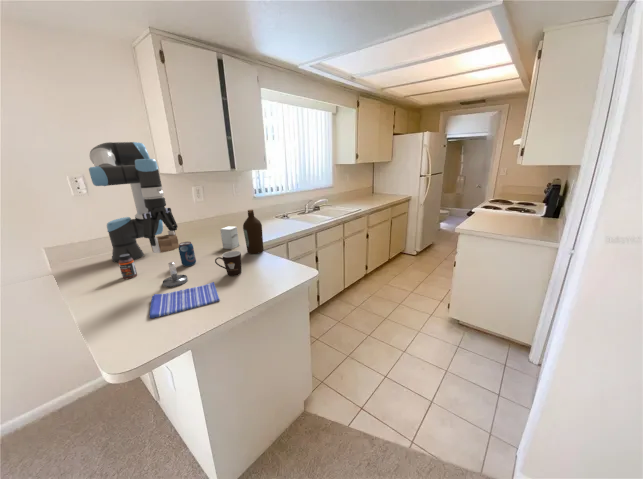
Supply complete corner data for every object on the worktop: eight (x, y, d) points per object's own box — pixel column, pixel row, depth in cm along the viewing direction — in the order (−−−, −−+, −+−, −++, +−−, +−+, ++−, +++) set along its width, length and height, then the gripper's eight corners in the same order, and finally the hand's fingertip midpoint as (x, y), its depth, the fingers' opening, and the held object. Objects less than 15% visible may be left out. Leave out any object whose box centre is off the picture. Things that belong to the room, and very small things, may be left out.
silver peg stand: (158, 287, 117) (153, 267, 114) (173, 277, 126) (168, 258, 123) (178, 287, 115) (174, 267, 113) (192, 277, 125) (188, 259, 122)
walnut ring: (147, 252, 112) (144, 241, 111) (163, 245, 121) (161, 234, 120) (168, 252, 111) (165, 241, 109) (183, 245, 120) (181, 234, 119)
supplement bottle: (121, 280, 126) (115, 258, 122) (123, 275, 131) (117, 254, 127) (136, 277, 128) (130, 255, 125) (138, 273, 133) (132, 252, 130)
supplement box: (232, 249, 163) (229, 229, 159) (222, 248, 166) (219, 229, 162) (239, 245, 170) (237, 226, 166) (230, 244, 172) (227, 226, 168)
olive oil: (262, 247, 164) (258, 207, 156) (266, 252, 154) (261, 210, 147) (245, 250, 160) (239, 209, 152) (247, 255, 150) (241, 212, 143)
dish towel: (153, 300, 107) (151, 293, 106) (215, 285, 117) (214, 279, 116) (149, 321, 92) (147, 314, 91) (220, 302, 102) (219, 296, 102)
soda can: (190, 267, 138) (186, 245, 134) (179, 266, 139) (174, 245, 136) (199, 262, 144) (195, 241, 141) (188, 261, 146) (183, 241, 142)
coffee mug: (247, 270, 130) (244, 251, 127) (236, 278, 122) (233, 257, 119) (227, 268, 134) (224, 249, 131) (216, 275, 126) (212, 255, 123)
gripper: (140, 201, 98) (154, 257, 105) (179, 193, 120) (189, 240, 126) (123, 202, 99) (137, 257, 106) (165, 194, 121) (175, 240, 127)
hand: (165, 248), depth 116 cm, fingers closed on walnut ring, 10 cm apart
